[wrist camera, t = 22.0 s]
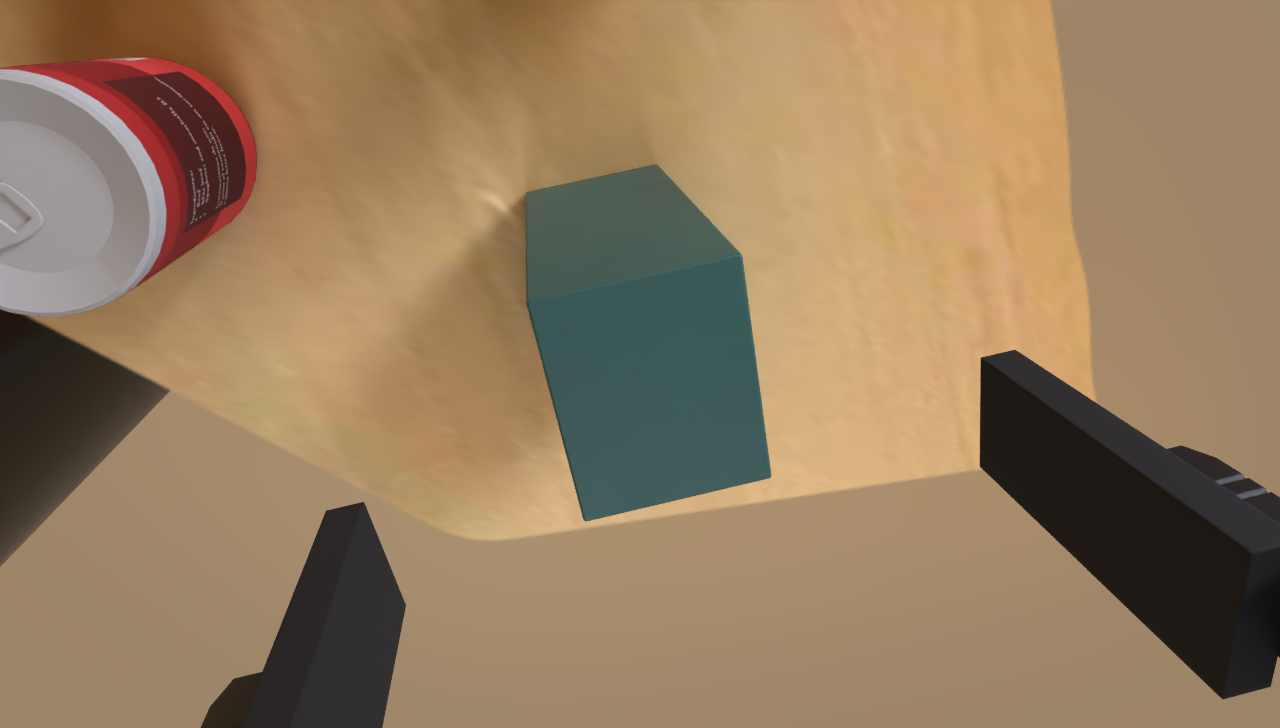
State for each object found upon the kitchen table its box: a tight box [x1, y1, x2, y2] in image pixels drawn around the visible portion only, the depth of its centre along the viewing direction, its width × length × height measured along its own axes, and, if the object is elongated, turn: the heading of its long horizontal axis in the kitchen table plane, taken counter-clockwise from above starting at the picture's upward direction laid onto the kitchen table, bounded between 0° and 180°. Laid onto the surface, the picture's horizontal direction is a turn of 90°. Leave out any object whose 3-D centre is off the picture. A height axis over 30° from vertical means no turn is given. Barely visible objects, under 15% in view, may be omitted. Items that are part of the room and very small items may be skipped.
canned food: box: [0, 57, 257, 317], centre depth 29 cm, size 8×8×11 cm
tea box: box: [526, 165, 771, 521], centre depth 31 cm, size 6×16×8 cm
